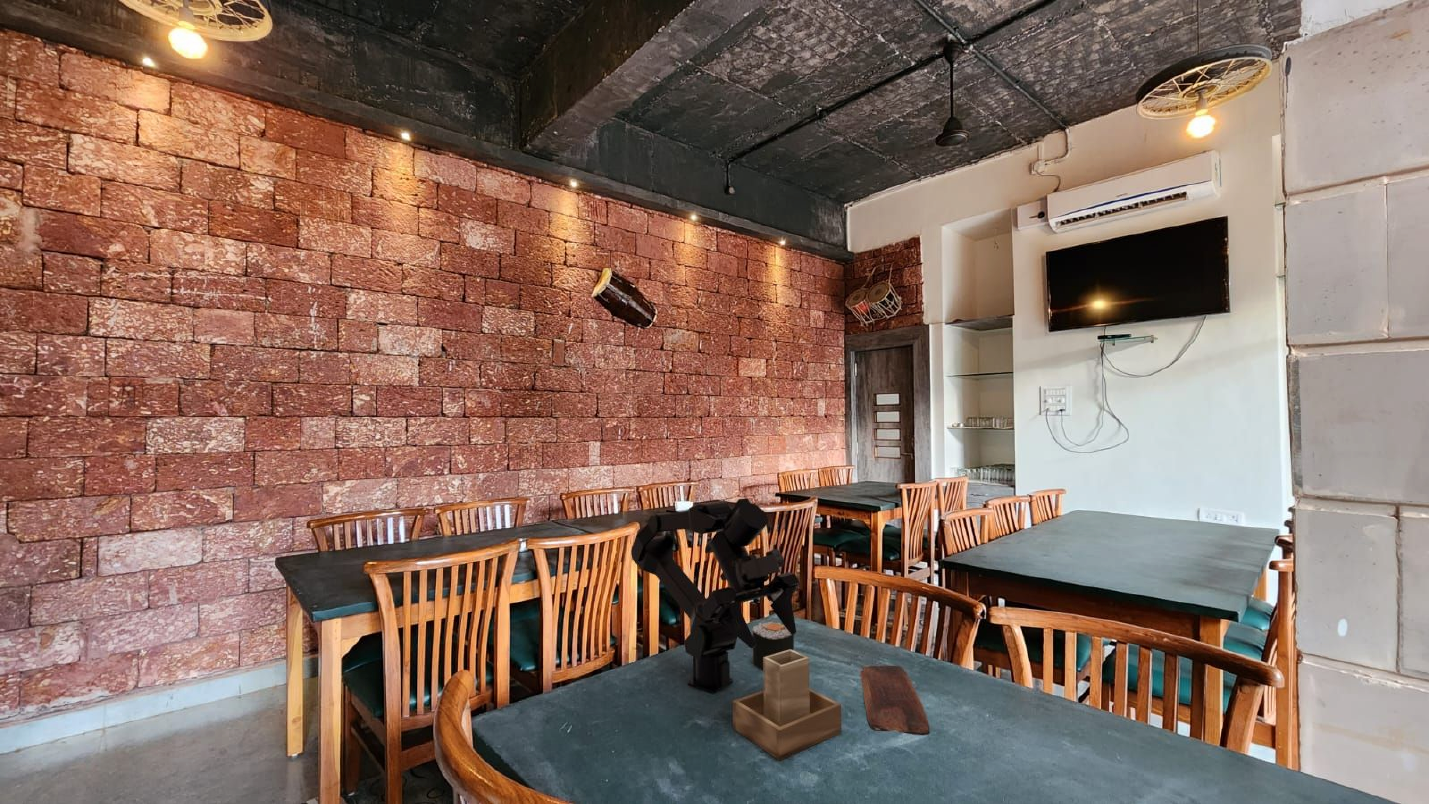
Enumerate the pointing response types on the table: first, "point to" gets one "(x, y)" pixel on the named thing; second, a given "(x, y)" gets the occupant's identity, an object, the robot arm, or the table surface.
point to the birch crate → (786, 687)
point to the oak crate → (791, 735)
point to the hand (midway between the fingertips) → (774, 640)
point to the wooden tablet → (892, 701)
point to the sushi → (770, 641)
